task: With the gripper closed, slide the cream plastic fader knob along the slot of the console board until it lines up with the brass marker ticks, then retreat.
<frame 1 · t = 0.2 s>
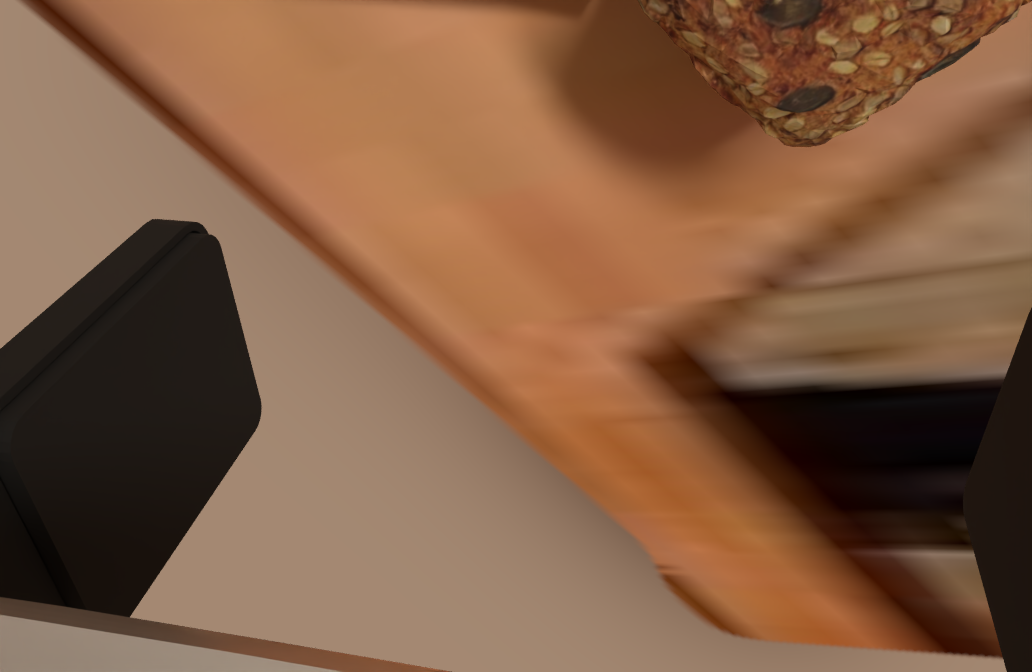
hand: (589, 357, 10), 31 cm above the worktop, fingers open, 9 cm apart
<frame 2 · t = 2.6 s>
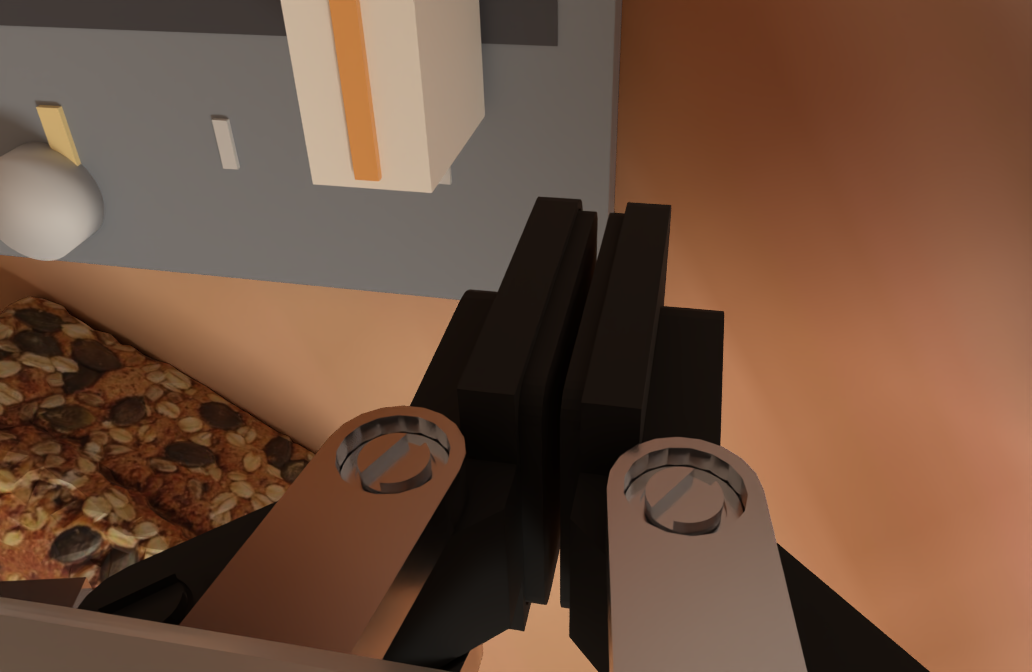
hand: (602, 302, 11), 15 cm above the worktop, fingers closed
fader knob: (393, 52, 21), point 4 cm above the worktop, slide at 0.0 cm
console: (229, 31, 27), on the worktop
bread: (201, 457, 39), on the worktop
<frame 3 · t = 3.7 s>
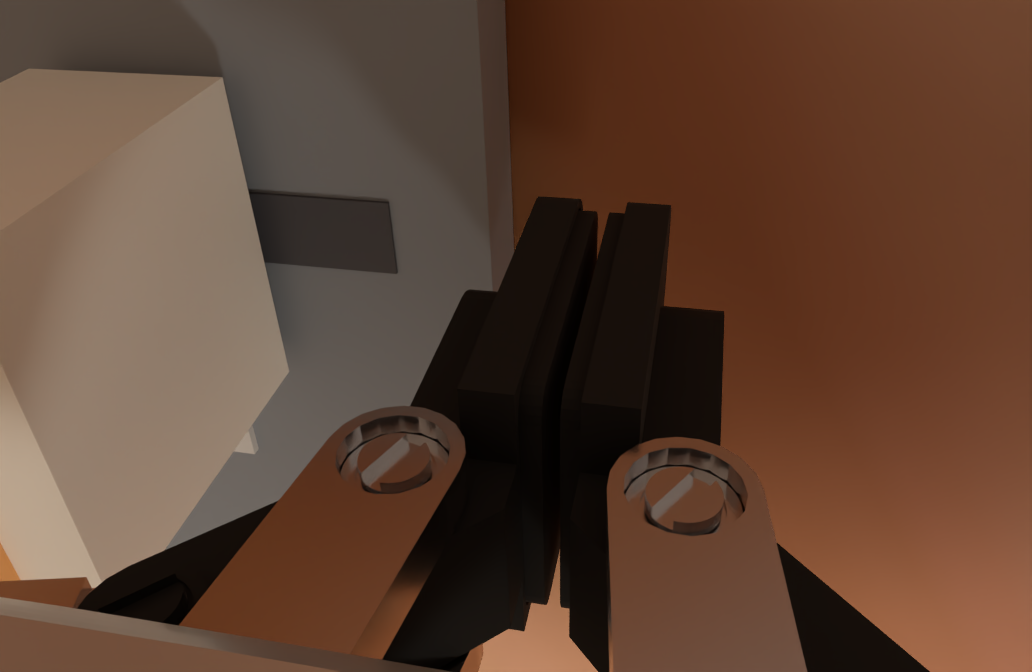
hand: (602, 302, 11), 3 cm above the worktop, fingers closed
fader knob: (65, 327, 11), point 4 cm above the worktop, slide at 0.0 cm
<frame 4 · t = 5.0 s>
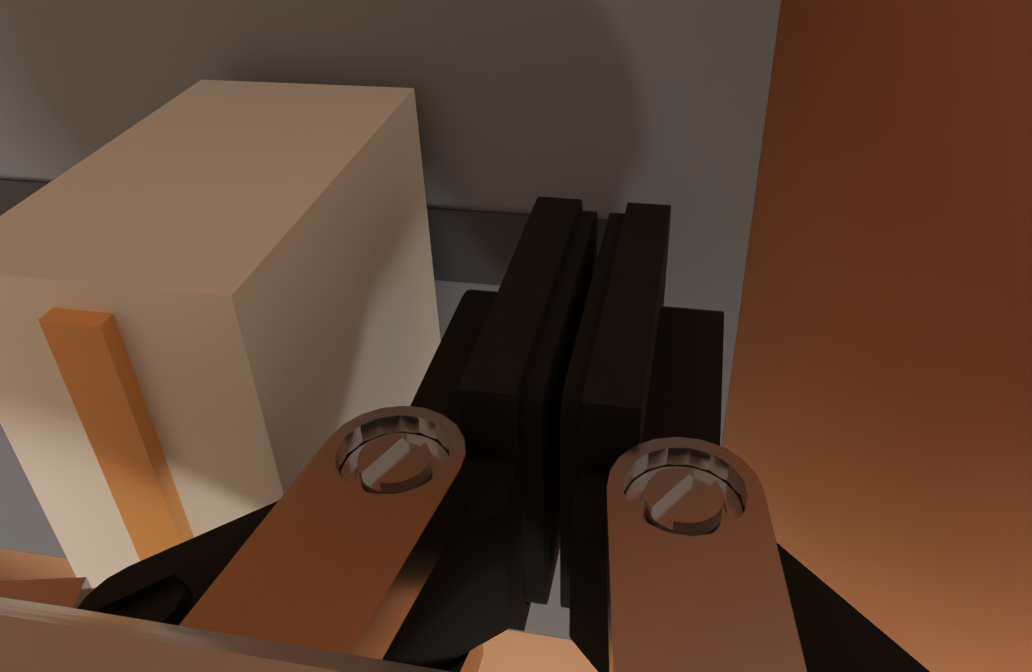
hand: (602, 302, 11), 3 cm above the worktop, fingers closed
fader knob: (256, 352, 11), point 5 cm above the worktop, slide at 0.9 cm, touching gripper
console: (73, 222, 16), on the worktop
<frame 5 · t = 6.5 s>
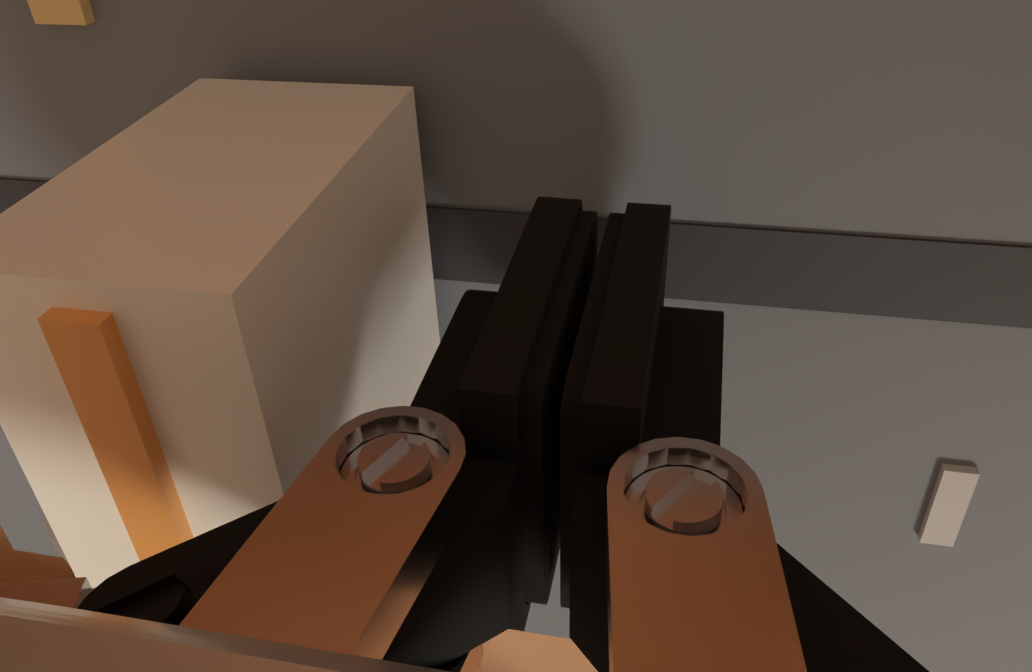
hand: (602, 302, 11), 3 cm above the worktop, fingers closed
fader knob: (255, 351, 11), point 4 cm above the worktop, slide at 9.5 cm, touching gripper
console: (524, 255, 15), on the worktop
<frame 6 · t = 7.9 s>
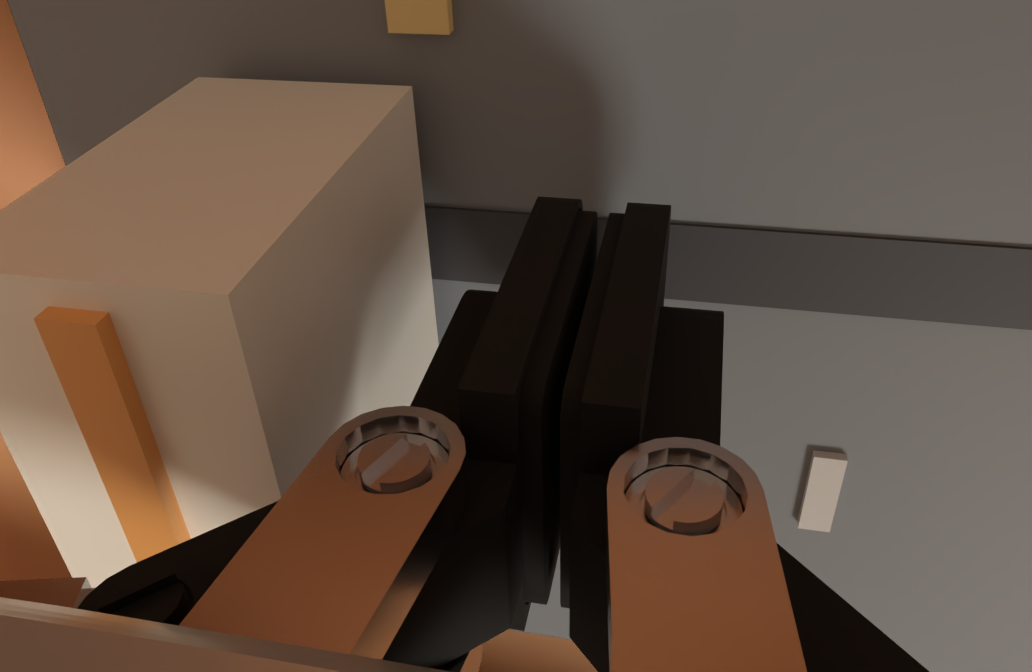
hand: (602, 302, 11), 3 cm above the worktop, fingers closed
fader knob: (252, 351, 11), point 4 cm above the worktop, slide at 14.6 cm, touching gripper
console: (847, 281, 14), on the worktop
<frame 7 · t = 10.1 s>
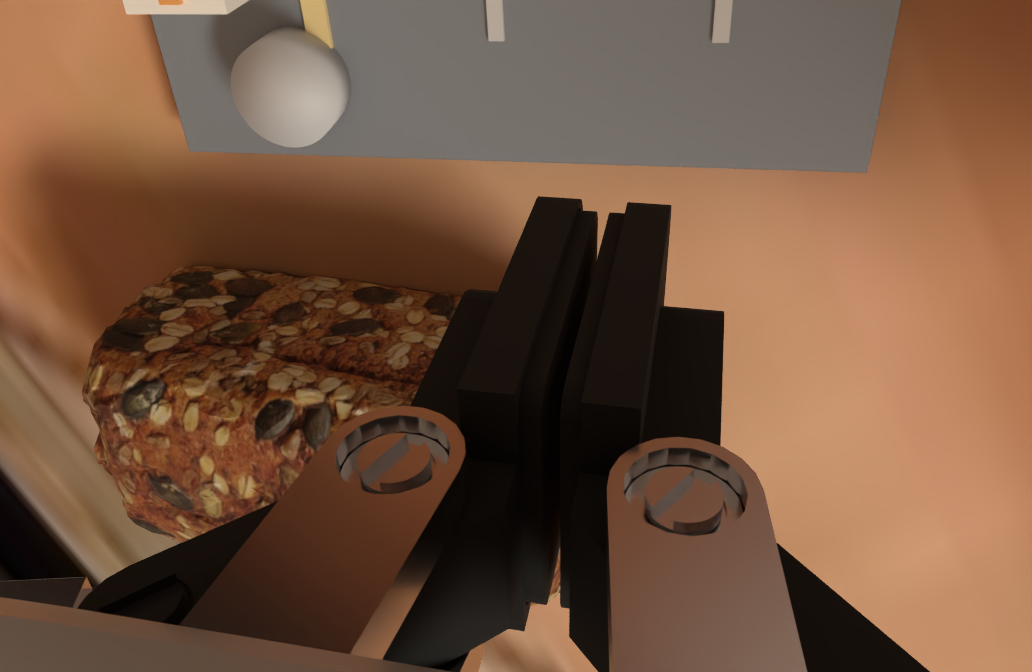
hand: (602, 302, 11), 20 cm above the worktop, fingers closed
bread: (389, 366, 40), on the worktop
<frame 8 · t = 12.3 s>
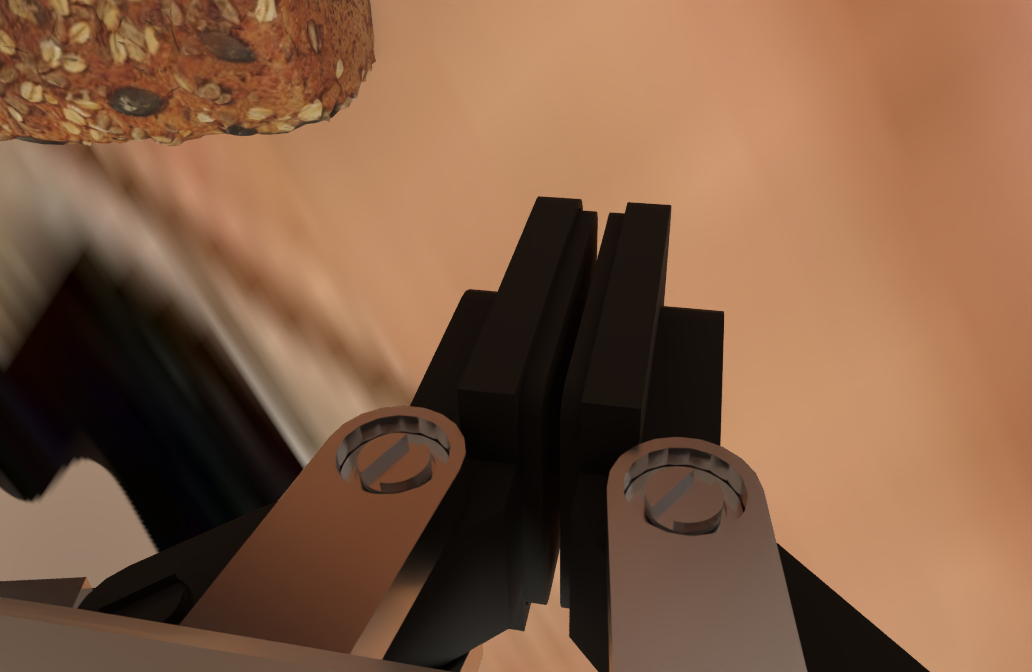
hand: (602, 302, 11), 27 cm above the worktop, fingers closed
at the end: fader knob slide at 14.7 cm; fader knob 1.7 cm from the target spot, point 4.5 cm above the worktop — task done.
